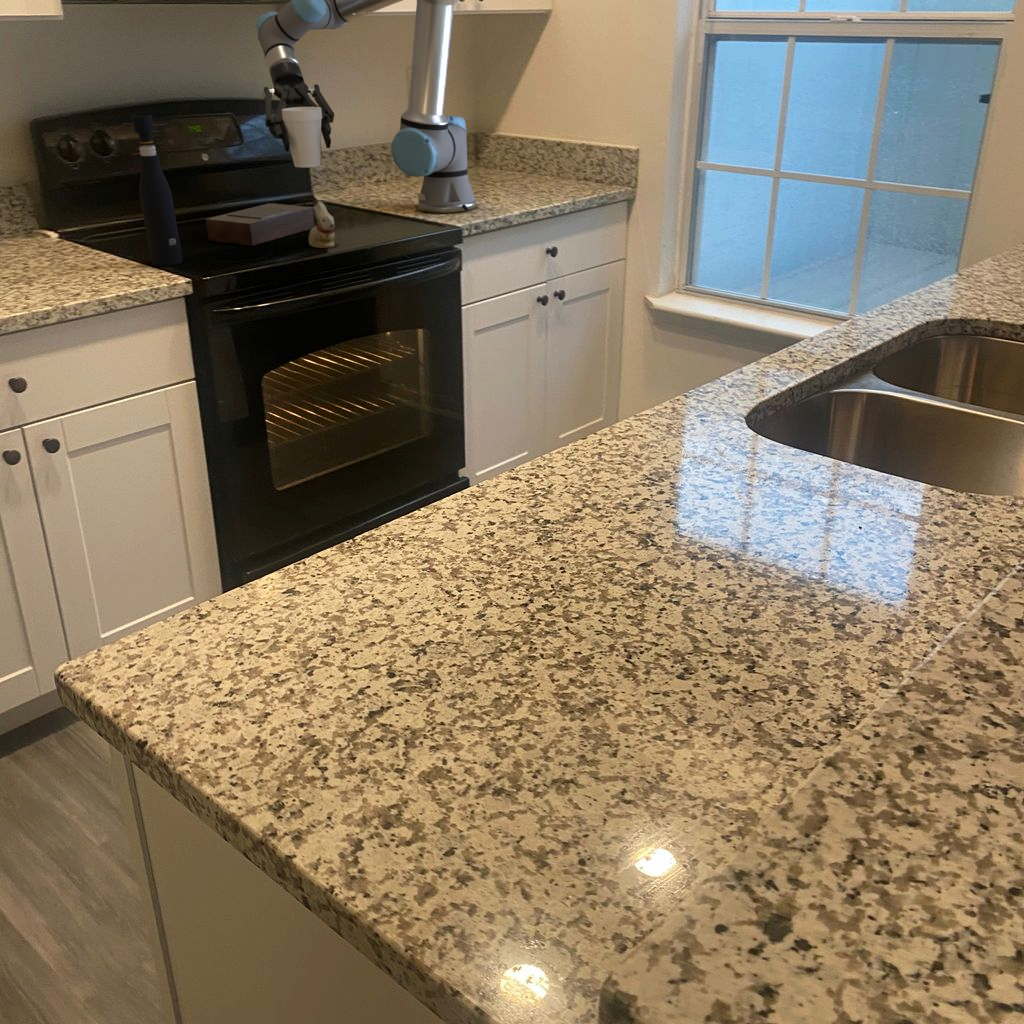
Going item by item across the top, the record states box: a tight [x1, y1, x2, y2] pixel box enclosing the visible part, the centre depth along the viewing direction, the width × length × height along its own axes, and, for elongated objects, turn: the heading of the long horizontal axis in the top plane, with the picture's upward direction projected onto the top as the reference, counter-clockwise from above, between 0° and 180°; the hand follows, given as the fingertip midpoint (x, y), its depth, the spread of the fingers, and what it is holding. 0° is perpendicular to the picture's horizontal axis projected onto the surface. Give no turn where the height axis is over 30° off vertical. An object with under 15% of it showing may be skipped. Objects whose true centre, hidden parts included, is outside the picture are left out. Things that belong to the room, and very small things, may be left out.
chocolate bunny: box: [308, 200, 336, 249], centre depth 233 cm, size 6×8×10 cm
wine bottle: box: [131, 114, 184, 267], centre depth 216 cm, size 6×6×30 cm
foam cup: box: [281, 106, 322, 168], centre depth 248 cm, size 10×9×13 cm
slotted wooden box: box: [205, 202, 316, 247], centre depth 247 cm, size 14×22×5 cm, turn 149°
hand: (308, 146), depth 247 cm, fingers closed on foam cup, 9 cm apart
